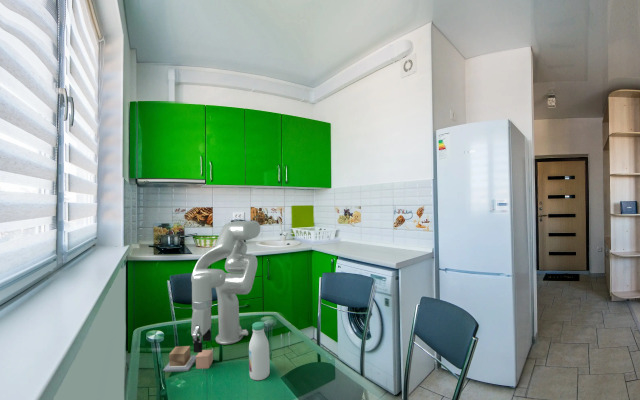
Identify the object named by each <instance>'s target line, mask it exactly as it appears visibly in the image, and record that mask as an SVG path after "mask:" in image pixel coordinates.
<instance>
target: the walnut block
mask: <svg viewBox="0 0 640 400" xmlns="http://www.w3.org/2000/svg"><path fill="white" fill-rule="evenodd" d="M191 356H192V355H191V346H190V345H186V346H185V345H184V346H183V345H182V346H175V347H174V348H173V349H172V350H171V351H170V352H169V354H168V358H169V361H168V363H169V365H170V366H185V365H186V363H187V362H188V361H189V359H190V358H191Z"/></svg>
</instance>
